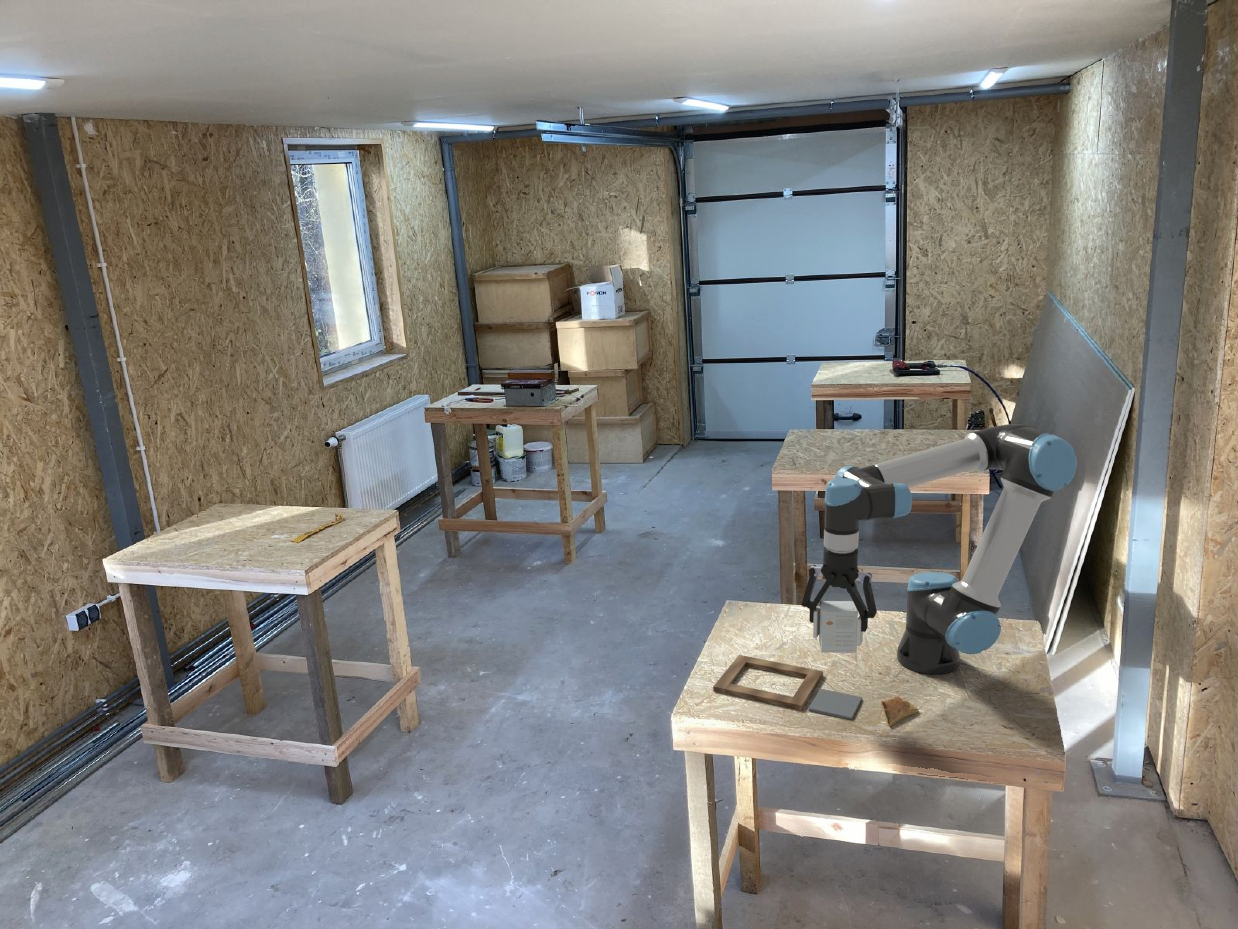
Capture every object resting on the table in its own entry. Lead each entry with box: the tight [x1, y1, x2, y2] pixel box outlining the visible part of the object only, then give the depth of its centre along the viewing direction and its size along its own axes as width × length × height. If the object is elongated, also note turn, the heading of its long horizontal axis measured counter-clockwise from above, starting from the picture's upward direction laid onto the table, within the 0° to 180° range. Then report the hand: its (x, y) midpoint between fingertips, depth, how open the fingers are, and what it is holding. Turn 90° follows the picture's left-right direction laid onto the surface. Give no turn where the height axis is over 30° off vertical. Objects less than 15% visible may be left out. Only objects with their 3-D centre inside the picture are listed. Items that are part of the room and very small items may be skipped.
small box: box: [818, 600, 859, 654], centre depth 216 cm, size 8×6×10 cm
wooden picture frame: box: [712, 654, 824, 711], centre depth 232 cm, size 22×18×1 cm
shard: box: [880, 696, 919, 728], centre depth 217 cm, size 11×8×2 cm
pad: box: [808, 688, 863, 721], centre depth 221 cm, size 10×10×1 cm
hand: (837, 639), depth 216 cm, fingers closed on small box, 9 cm apart
